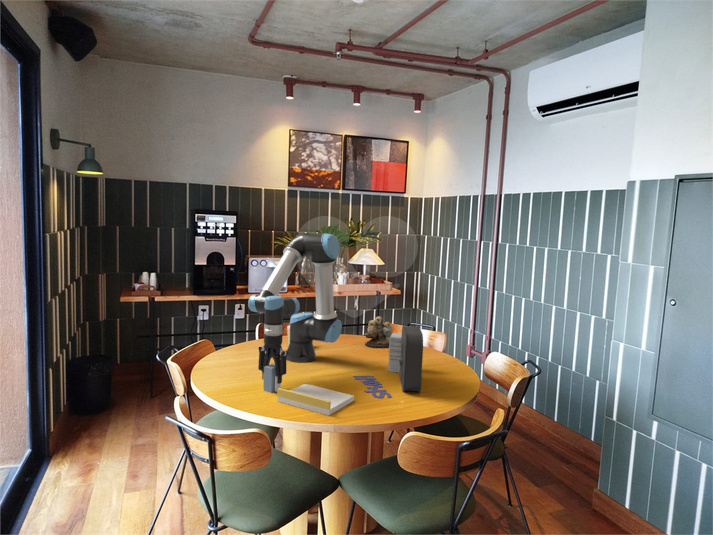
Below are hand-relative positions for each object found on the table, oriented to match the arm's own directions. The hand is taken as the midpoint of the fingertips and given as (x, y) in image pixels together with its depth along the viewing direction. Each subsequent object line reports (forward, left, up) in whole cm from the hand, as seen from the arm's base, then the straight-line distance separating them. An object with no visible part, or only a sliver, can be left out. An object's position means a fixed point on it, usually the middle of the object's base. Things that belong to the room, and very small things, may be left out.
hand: (271, 389), depth 200 cm
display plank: (+22, 0, 0) cm, 22 cm away
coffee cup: (-33, +59, -1) cm, 68 cm away
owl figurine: (+2, +92, -1) cm, 92 cm away
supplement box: (+31, +57, -1) cm, 65 cm away
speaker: (+44, +39, -1) cm, 59 cm away
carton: (0, 0, 0) cm, 0 cm away
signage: (+32, +28, -1) cm, 43 cm away
